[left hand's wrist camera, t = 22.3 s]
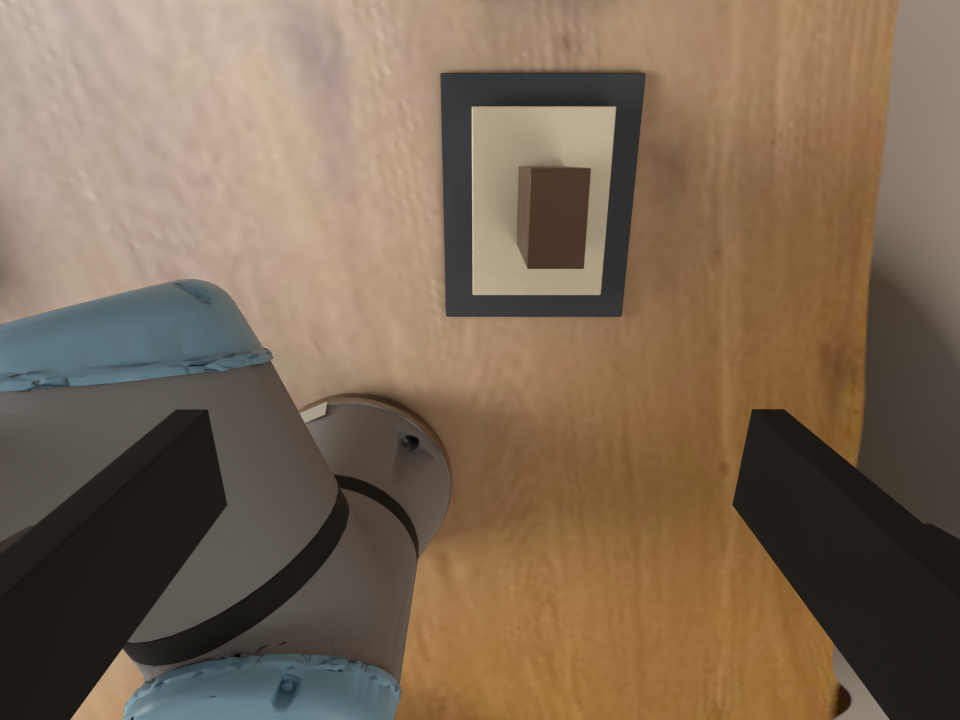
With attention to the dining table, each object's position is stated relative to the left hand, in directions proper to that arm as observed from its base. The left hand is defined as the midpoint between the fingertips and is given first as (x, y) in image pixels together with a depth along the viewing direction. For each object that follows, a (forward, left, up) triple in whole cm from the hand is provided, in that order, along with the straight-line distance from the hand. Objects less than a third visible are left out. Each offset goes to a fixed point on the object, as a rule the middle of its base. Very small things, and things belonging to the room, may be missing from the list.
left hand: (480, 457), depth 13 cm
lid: (+4, -4, -26) cm, 27 cm away
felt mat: (+4, -4, -27) cm, 27 cm away
